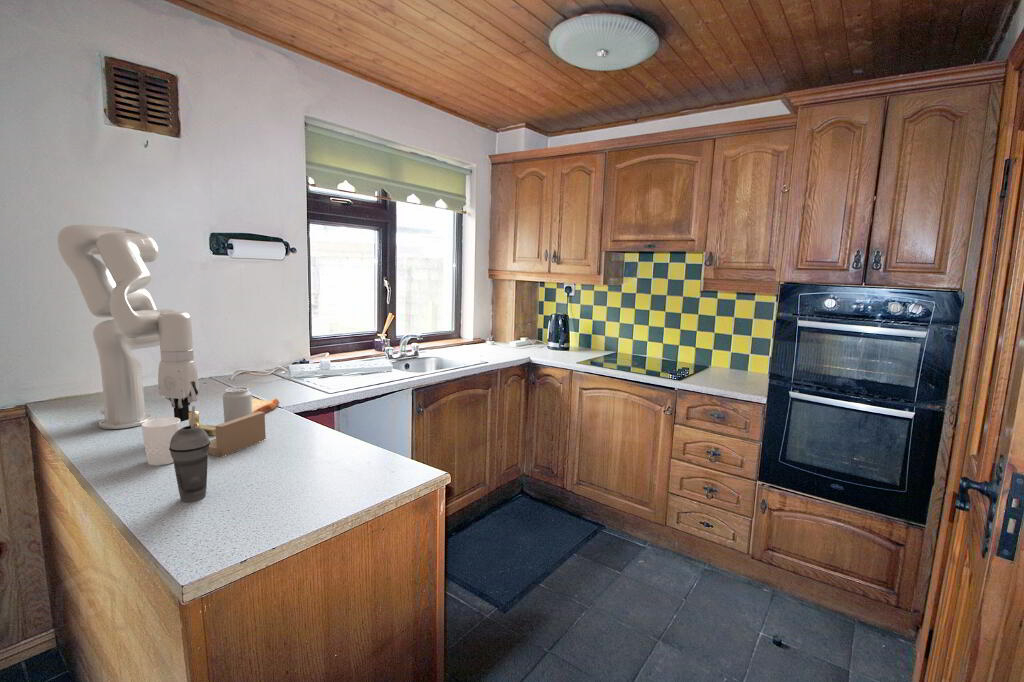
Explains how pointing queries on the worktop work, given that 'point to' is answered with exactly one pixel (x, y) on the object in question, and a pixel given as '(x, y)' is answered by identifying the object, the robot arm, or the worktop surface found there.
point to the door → (236, 434)
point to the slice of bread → (263, 405)
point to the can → (237, 403)
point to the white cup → (159, 439)
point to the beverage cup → (190, 461)
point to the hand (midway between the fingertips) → (182, 420)
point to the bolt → (208, 429)
